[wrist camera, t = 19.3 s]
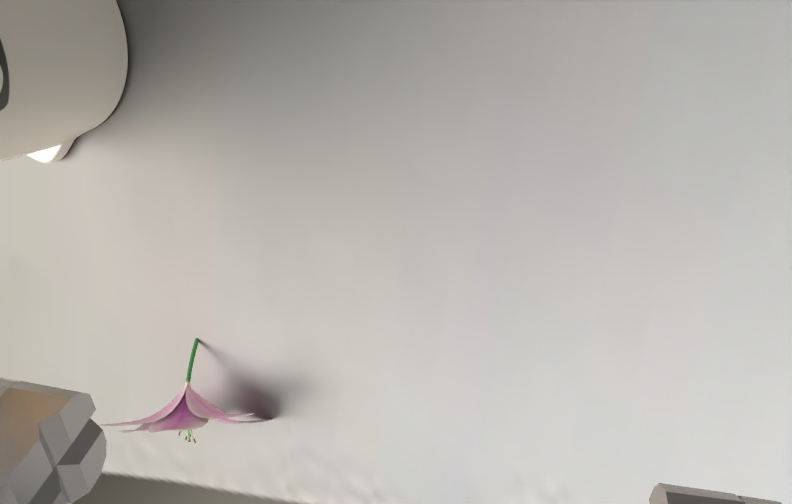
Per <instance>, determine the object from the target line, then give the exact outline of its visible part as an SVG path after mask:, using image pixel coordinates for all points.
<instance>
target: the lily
mask: <svg viewBox="0 0 792 504" xmlns="http://www.w3.org/2000/svg"><path fill="white" fill-rule="evenodd" d="M198 341H199V339H195V342H194V346H193V349H192V353H191V358H190V362H189V367H188V372H187V378H186V384H185V387H184V389H183V390H182V391H181V393H180V394H179V395H178V396H177V397H176V398H175V399H174V400H172V401H171V402H170V403H169V404H168V405H167V406H166V407H164V408H163V409H162V410H160V411H159V412H157V413H156V414H154V415H152V416H150V417H148V418H145V419H142V420H138V421H133V422H126V423H116V424H104V425H102V426H118V425H136V424H143V425H141V426H140V427H139V428H137V429H135V430H123V431H119V432H123V433H125V432H132V431H144V430H149V431H150V432H158V431H165V430H181V431H182V430H186V440H187V434H188V442H190V437H191V434H192V430H191V434H190V429H196V428H199V427H202V426H204V425H205V424H206V423H207V422H208V420H209V419H211V420H213V421H216V422H221V423H235V424H236V423H257V422H264V421H269V420H272V419H268V420H258V421H235V420H231V419H228V417H236V416H249V415H253V414H255V413H251V414H231V415H230V414H226V413H224V412H222V411H220V410H219V409H217V408H216V407H214V406H213V405H212V404H210V403H209V402H208V401H206V400H205V399H204V398H202V397H201V396H200V395H198V394H197V393H196V392H195V391H193V390H192V389H191V387H190V379H191V371H192V366H193V361H194V357H195V353H196V349H197V345H198ZM180 433H181V432H180V431H179V435H180ZM189 434H190V436H189ZM192 438H193V435H192ZM193 440H194V442H195V443H196V441H195V439H194V438H193Z"/></svg>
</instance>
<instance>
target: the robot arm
mask: <svg viewBox="0 0 792 504" xmlns="http://www.w3.org/2000/svg"><path fill="white" fill-rule="evenodd" d="M127 66H128V51H127V40H126V34H125V28H124V24H123V20H122V17H121V14H120V10H119V8H118V5H117V2H116V0H0V162H1V161H4V160H8V159H12V158H16V157H19V156H23V155H27V156H29V157H31V158H33V159H35V160H37V161H39V162H42V163H51V162H55V161H59V160H61V159H62V158H63V157H64V156H65V155H66V153H67V152H68V150H69V149H70V147H71V145H72V144H73V142H74V140H75V139H76V138H77V137H78V136H80V135H81V134H83V133H85V132H87V131H89V130H91V129H93V128H95V127H97V126H98V125H100V124H101V123H102V122H104V121H105V120H106V119H107V118H108V117H109V115H110V114H111V113H112V112H113V110H114V109H115V107H116V105H117V104H118V102H119V100H120V97H121V95H122V92H123V89H124V85H125V81H126V76H127ZM95 410H96V408H95V406H94V403H93V401H92V398H91V396H90V394H87V393H82V392H76V391H71V390H66V389H60V388H55V387H50V386H44V385H39V384H34V383H28V382H23V381H17V380H12V379H6V378H0V504H71V503H73V502H74V501H76V500H77V499H79V498H81V497H82V496H84V495H85V494H87V493H89V492H90V490H91V489H92V487H93V485H94V484H95V482H96V481H97V479H98V477H99V476H100V474H101V470H102V467H103V464H104V461H105V458H106V439H105V435H104V432H103V430H102V429H101V428H100V427H99V426H98V425H97V424H96V423H95V422H94V421H93V420H92V419H91V418H90V417H91V416H92V415H93V413H94V412H95ZM649 502H650V504H782V503H781V502H777V501H771V500H764V499H758V498H751V497H745V496H736V495H735V494H732V493H725V492H718V491H711V490H704V489H697V488H690V487H683V486H676V485H670V484H663V483H659V484H658V485H656V486H655V487H654V489H653V491H652V494H651V496H650V498H649Z"/></svg>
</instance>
